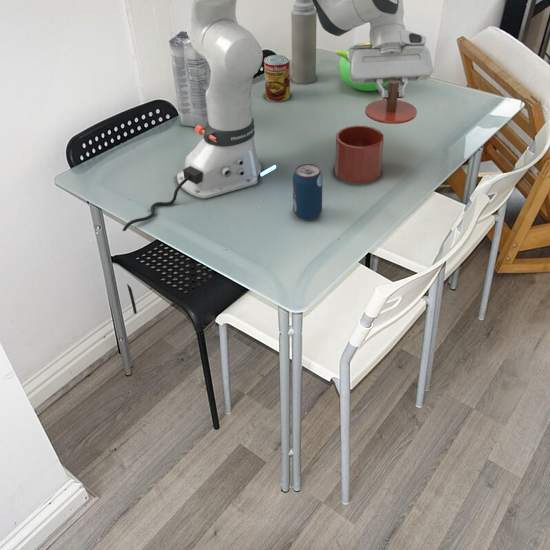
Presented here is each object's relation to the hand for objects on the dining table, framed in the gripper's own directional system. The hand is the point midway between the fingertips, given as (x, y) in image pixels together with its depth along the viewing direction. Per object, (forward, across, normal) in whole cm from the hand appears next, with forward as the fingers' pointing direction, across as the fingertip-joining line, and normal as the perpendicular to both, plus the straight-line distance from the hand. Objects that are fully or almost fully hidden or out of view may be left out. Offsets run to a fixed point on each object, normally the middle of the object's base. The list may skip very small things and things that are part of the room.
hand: (393, 98), depth 153 cm
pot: (+15, -8, +12) cm, 21 cm away
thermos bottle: (-29, -15, +56) cm, 64 cm away
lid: (+2, 0, +3) cm, 4 cm away
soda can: (+28, -23, 0) cm, 36 cm away
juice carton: (-9, -50, +36) cm, 62 cm away
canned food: (-20, -25, +47) cm, 57 cm away
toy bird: (-21, +3, +48) cm, 53 cm away
